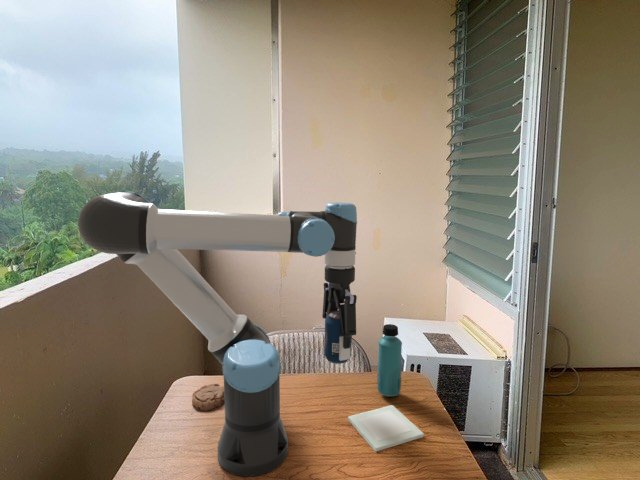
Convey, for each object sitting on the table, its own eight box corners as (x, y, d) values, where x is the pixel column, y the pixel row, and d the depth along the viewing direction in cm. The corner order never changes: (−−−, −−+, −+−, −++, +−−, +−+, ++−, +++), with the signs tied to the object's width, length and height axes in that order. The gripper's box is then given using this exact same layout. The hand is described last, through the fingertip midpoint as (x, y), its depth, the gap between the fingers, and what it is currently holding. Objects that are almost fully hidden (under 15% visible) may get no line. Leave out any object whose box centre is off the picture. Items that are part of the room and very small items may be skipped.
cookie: (187, 413, 105) (187, 402, 104) (195, 391, 115) (194, 381, 115) (227, 410, 106) (227, 400, 105) (231, 389, 116) (231, 379, 116)
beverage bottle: (400, 403, 109) (403, 331, 106) (375, 400, 111) (377, 329, 107) (400, 390, 116) (403, 322, 112) (377, 388, 117) (379, 320, 114)
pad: (375, 451, 90) (375, 448, 90) (347, 419, 102) (347, 416, 102) (423, 436, 96) (423, 433, 95) (392, 407, 107) (392, 404, 107)
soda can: (326, 351, 110) (327, 308, 108) (352, 354, 109) (354, 310, 107) (321, 363, 103) (322, 317, 101) (349, 366, 102) (350, 319, 100)
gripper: (374, 273, 95) (370, 367, 98) (335, 256, 112) (333, 336, 116) (345, 276, 92) (342, 372, 95) (310, 258, 109) (309, 340, 113)
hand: (337, 353), depth 106 cm, fingers closed on soda can, 7 cm apart
